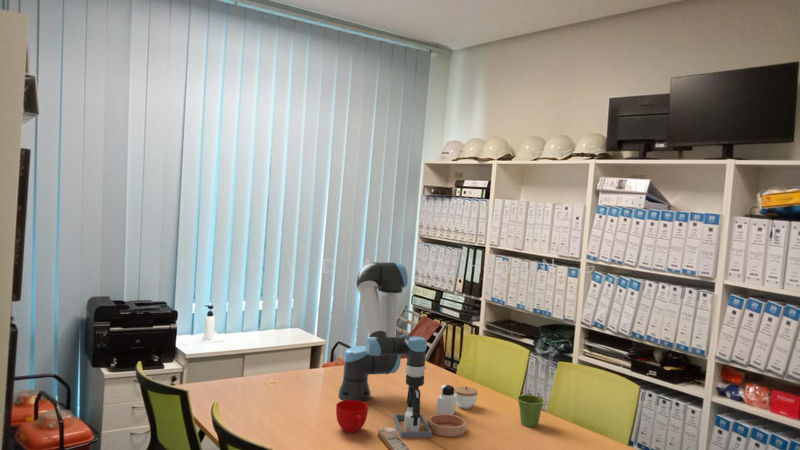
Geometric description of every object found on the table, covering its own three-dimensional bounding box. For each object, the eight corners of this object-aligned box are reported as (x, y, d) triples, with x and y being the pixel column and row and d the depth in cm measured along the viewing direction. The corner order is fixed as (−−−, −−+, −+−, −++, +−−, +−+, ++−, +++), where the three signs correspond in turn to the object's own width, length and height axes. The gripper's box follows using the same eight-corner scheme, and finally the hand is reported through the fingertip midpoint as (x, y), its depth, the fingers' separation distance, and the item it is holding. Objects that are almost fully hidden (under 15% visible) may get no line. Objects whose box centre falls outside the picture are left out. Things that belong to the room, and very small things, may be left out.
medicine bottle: (455, 411, 266) (457, 385, 266) (451, 416, 259) (453, 389, 259) (440, 408, 268) (442, 382, 268) (436, 413, 262) (438, 387, 261)
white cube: (419, 431, 240) (420, 417, 240) (404, 431, 240) (405, 416, 239) (418, 426, 246) (419, 411, 246) (404, 425, 246) (405, 411, 245)
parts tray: (400, 437, 232) (400, 432, 232) (393, 419, 251) (393, 414, 251) (431, 437, 234) (431, 432, 234) (422, 419, 253) (422, 414, 253)
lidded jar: (475, 411, 267) (476, 391, 267) (452, 408, 269) (453, 388, 269) (477, 404, 278) (478, 384, 277) (454, 401, 280) (456, 381, 279)
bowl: (432, 436, 235) (433, 427, 235) (425, 422, 250) (425, 413, 250) (469, 436, 237) (469, 427, 237) (459, 422, 252) (460, 414, 252)
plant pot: (513, 418, 261) (515, 393, 261) (539, 420, 261) (541, 395, 261) (517, 428, 250) (519, 402, 249) (545, 430, 249) (547, 404, 249)
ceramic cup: (343, 441, 225) (345, 416, 225) (330, 425, 240) (332, 401, 240) (374, 438, 230) (376, 413, 230) (360, 422, 246) (361, 398, 245)
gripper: (429, 383, 231) (426, 438, 232) (419, 367, 254) (415, 417, 254) (411, 383, 230) (407, 438, 231) (402, 366, 252) (398, 417, 253)
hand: (411, 427), depth 243 cm, fingers open, 10 cm apart
